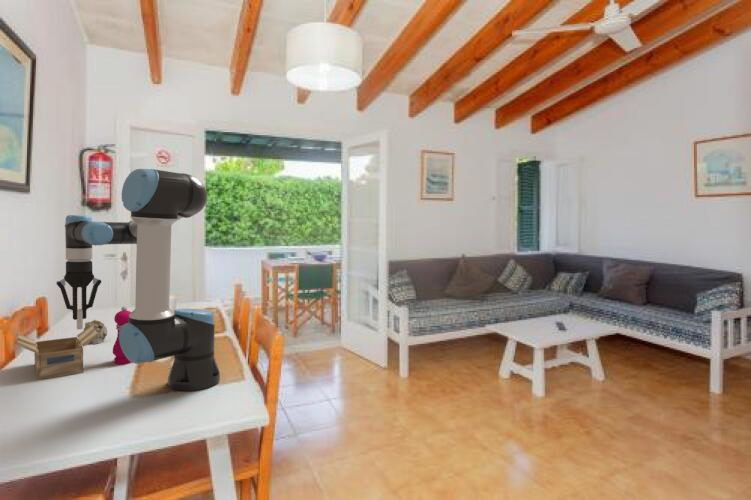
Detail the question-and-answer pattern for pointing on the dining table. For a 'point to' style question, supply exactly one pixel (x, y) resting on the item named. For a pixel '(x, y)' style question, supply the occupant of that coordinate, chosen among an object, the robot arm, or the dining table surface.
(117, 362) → the pepper mill
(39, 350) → the carton
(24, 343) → the flap left
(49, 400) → the dining table surface
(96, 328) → the rock
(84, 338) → the flap right
